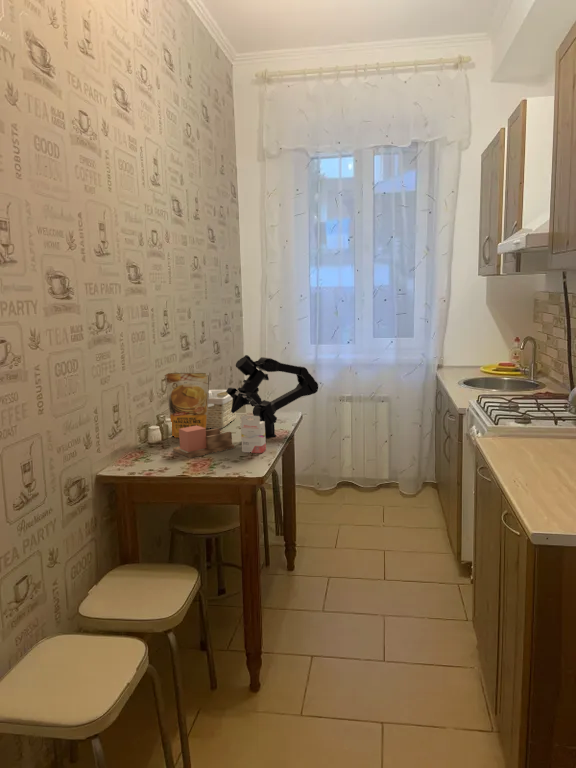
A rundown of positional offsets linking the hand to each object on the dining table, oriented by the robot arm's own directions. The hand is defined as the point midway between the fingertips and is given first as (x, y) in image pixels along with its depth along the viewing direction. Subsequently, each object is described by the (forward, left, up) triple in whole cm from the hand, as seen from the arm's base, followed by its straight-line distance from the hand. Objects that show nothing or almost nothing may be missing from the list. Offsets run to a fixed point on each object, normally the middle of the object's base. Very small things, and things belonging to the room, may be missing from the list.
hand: (232, 412), depth 244 cm
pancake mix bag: (+14, -20, -13) cm, 28 cm away
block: (+18, +5, -11) cm, 22 cm away
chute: (+14, +4, -13) cm, 19 cm away
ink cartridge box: (-3, +16, -13) cm, 21 cm away
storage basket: (-4, -38, -13) cm, 41 cm away
